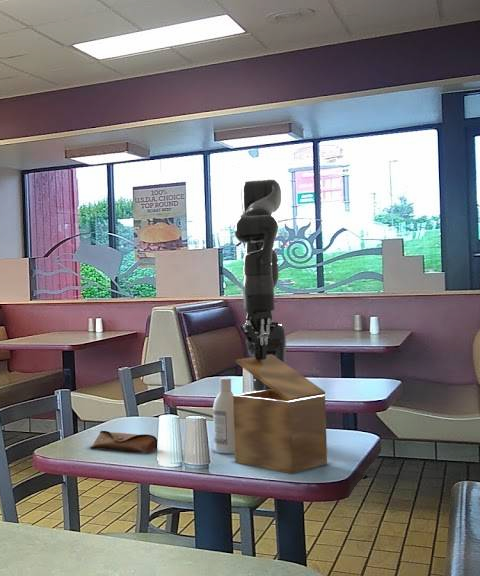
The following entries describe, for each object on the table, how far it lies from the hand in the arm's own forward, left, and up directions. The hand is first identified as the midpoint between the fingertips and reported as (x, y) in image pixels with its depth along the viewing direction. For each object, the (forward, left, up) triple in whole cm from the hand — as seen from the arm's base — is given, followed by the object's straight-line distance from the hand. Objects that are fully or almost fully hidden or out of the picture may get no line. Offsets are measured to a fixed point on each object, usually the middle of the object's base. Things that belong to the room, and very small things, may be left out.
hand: (260, 359), depth 213 cm
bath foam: (-13, +1, -26) cm, 29 cm away
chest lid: (+6, 0, -4) cm, 7 cm away
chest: (+5, 0, -26) cm, 27 cm away
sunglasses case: (-35, -16, -26) cm, 47 cm away
